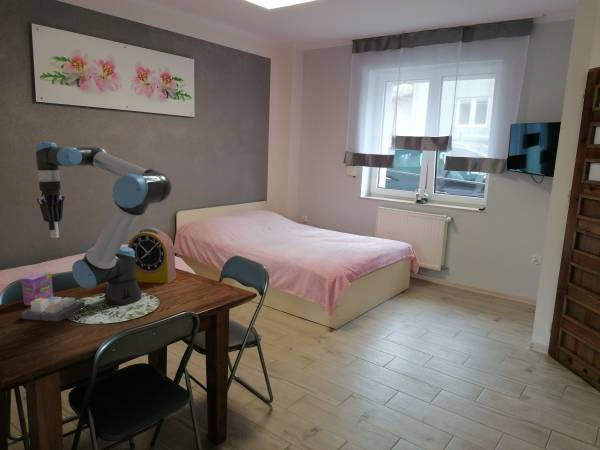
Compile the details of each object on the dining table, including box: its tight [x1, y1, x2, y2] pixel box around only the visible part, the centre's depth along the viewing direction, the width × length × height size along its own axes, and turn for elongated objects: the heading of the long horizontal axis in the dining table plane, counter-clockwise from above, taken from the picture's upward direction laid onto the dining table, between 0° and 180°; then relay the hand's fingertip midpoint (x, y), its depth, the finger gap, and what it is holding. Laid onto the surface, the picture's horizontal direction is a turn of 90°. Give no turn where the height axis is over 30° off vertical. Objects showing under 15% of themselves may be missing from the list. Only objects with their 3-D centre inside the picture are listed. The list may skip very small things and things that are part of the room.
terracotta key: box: [44, 303, 63, 313], centre depth 168 cm, size 4×4×4 cm
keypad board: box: [21, 300, 86, 323], centre depth 172 cm, size 16×15×2 cm
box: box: [20, 271, 54, 306], centre depth 184 cm, size 10×6×12 cm, turn 168°
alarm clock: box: [127, 227, 177, 284], centre depth 214 cm, size 21×9×26 cm, turn 80°
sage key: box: [58, 297, 76, 307], centre depth 174 cm, size 4×4×4 cm
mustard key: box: [30, 298, 49, 312], centre depth 168 cm, size 4×4×4 cm
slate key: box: [48, 296, 63, 305], centre depth 175 cm, size 4×4×4 cm
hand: (55, 237), depth 179 cm, fingers closed
